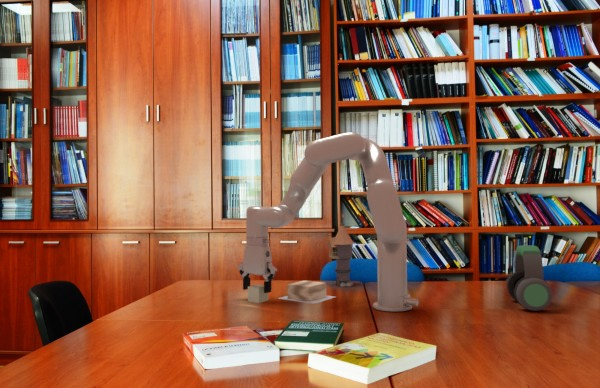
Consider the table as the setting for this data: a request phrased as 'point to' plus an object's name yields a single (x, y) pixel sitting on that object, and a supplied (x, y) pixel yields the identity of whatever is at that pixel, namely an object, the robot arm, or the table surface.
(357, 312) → the table surface
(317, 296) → the block
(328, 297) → the board
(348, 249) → the model tower
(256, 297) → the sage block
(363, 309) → the table surface
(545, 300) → the headphones
